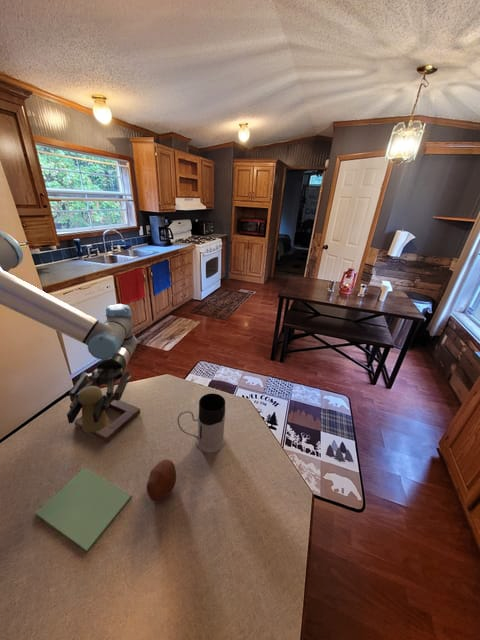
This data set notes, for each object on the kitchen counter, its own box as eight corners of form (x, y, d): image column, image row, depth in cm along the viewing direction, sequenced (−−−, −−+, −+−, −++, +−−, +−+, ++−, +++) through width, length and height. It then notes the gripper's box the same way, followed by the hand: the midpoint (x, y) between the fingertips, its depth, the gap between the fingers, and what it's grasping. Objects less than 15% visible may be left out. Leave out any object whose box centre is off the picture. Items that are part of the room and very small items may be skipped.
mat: (35, 514, 56) (34, 512, 56) (84, 469, 66) (84, 467, 66) (87, 552, 51) (86, 550, 51) (132, 496, 61) (131, 495, 61)
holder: (75, 426, 78) (74, 421, 77) (110, 400, 90) (110, 395, 89) (107, 443, 74) (106, 437, 73) (140, 413, 86) (140, 408, 85)
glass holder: (228, 448, 76) (231, 409, 70) (180, 461, 71) (180, 421, 65) (219, 426, 83) (222, 389, 77) (175, 437, 78) (174, 398, 72)
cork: (84, 417, 69) (78, 384, 64) (109, 413, 70) (104, 381, 66) (79, 434, 63) (71, 400, 59) (106, 430, 65) (100, 396, 61)
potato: (138, 498, 61) (135, 481, 58) (162, 466, 69) (161, 449, 66) (162, 511, 59) (161, 493, 56) (184, 476, 67) (184, 459, 64)
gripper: (144, 372, 83) (124, 428, 62) (85, 373, 80) (43, 432, 59) (142, 353, 80) (121, 405, 59) (81, 353, 78) (36, 407, 56)
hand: (82, 418), depth 59 cm, fingers closed on cork, 5 cm apart
